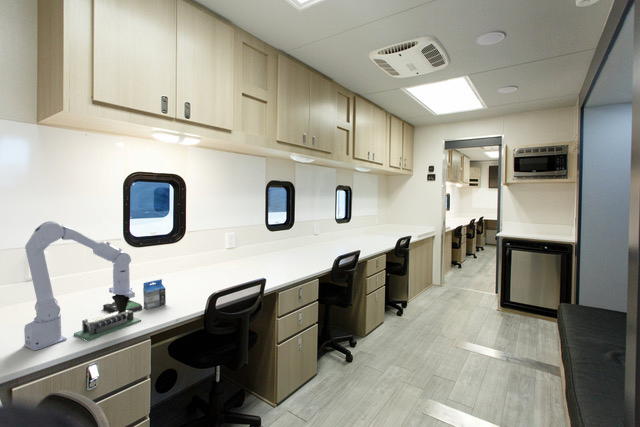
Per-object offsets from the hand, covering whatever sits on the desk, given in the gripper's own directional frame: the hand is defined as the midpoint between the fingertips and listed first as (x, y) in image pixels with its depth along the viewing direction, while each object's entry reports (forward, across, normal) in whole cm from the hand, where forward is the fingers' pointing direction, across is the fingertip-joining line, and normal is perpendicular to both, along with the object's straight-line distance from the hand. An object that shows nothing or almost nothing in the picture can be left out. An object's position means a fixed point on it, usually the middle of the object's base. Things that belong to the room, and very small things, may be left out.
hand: (122, 311), depth 125 cm
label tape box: (+5, +6, -19) cm, 21 cm away
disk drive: (+6, +15, -9) cm, 19 cm away
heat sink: (+4, 0, +7) cm, 8 cm away
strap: (+2, 0, +6) cm, 6 cm away
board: (+5, 0, +5) cm, 7 cm away
